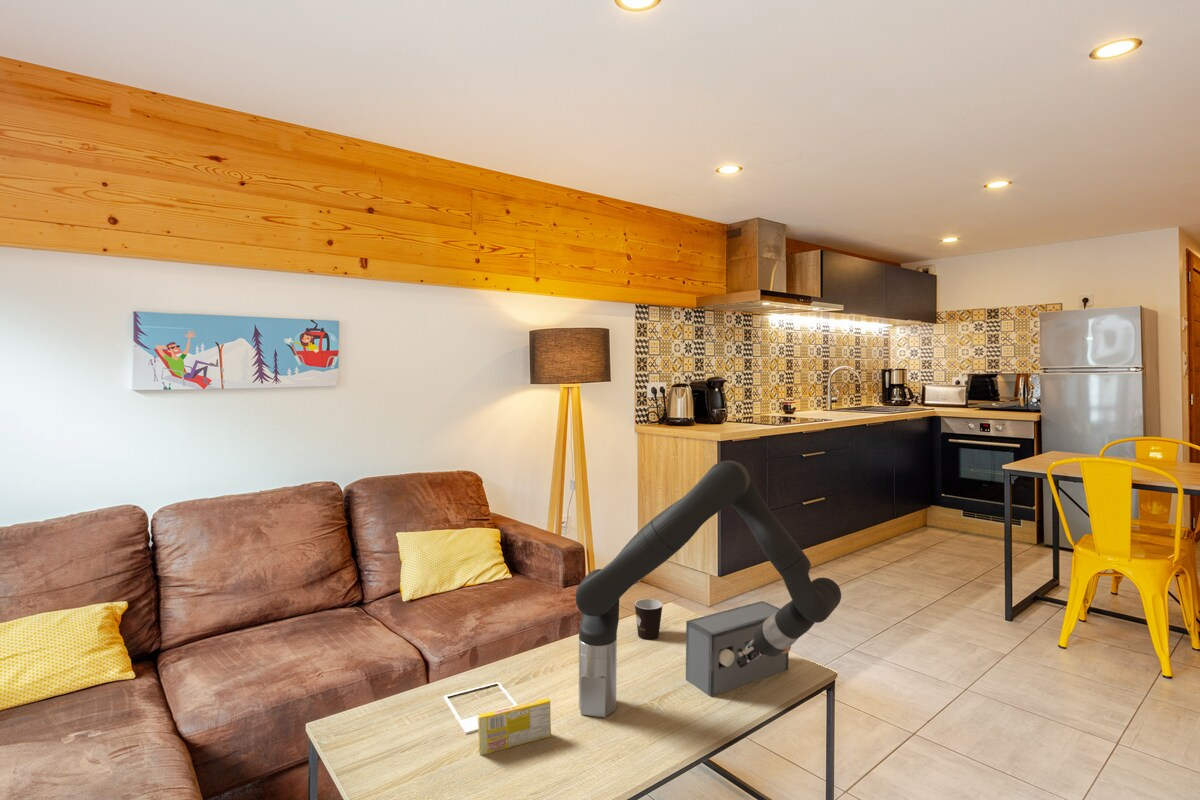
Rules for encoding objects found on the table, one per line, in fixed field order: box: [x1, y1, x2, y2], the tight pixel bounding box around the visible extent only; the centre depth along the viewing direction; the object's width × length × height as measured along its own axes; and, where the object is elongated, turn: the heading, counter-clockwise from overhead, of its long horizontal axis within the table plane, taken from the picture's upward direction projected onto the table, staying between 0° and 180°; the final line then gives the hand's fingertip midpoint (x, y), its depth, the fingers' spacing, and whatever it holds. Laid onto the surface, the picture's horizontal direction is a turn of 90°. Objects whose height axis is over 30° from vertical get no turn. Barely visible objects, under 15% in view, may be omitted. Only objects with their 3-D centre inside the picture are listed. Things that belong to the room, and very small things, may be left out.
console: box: [685, 600, 790, 697], centre depth 169 cm, size 10×28×16 cm, turn 121°
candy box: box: [477, 697, 552, 756], centre depth 138 cm, size 16×2×8 cm, turn 115°
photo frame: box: [443, 681, 518, 735], centre depth 153 cm, size 15×1×18 cm
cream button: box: [719, 648, 734, 667], centre depth 162 cm, size 7×4×4 cm, turn 31°
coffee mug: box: [634, 598, 664, 641], centre depth 195 cm, size 12×9×10 cm
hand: (739, 663), depth 156 cm, fingers closed
